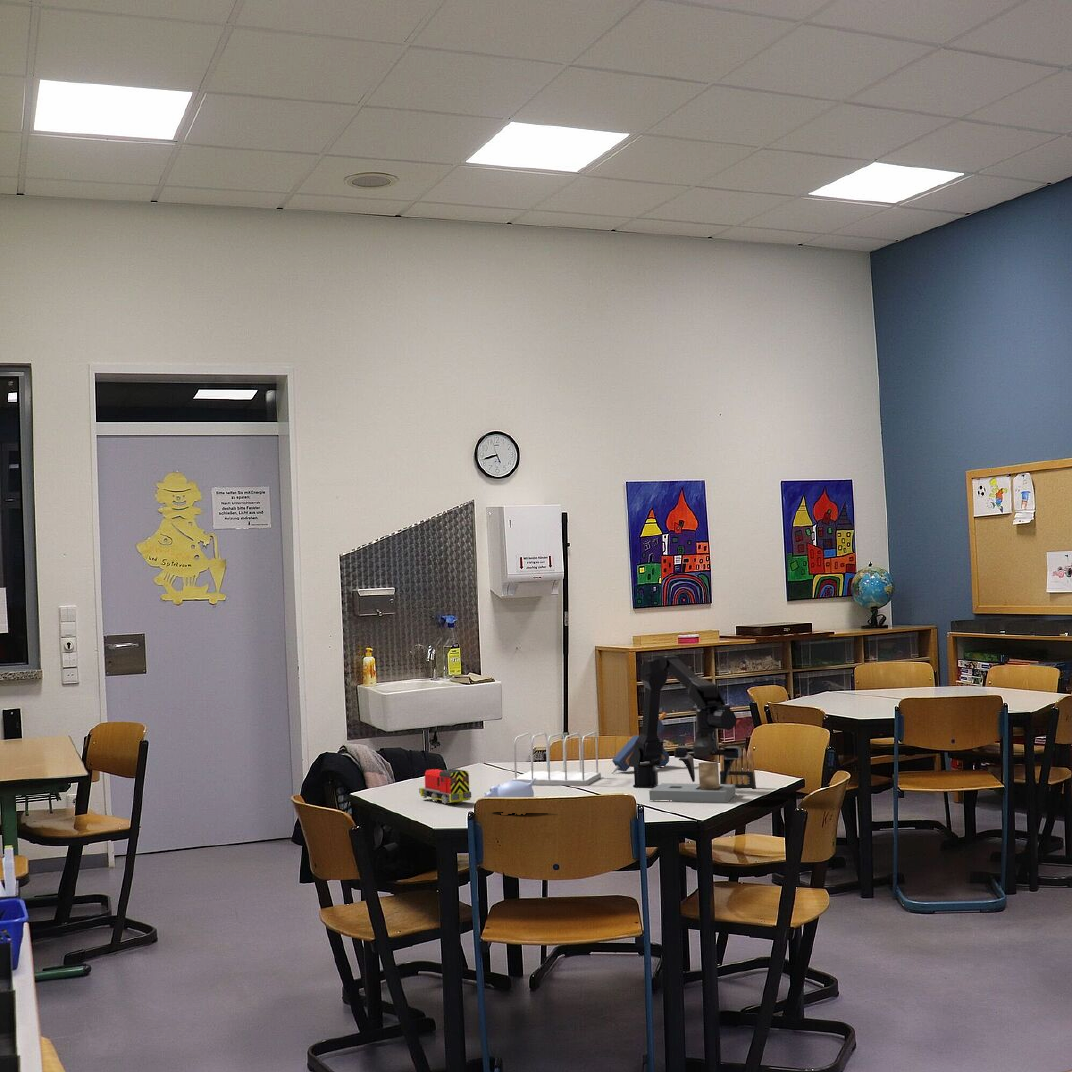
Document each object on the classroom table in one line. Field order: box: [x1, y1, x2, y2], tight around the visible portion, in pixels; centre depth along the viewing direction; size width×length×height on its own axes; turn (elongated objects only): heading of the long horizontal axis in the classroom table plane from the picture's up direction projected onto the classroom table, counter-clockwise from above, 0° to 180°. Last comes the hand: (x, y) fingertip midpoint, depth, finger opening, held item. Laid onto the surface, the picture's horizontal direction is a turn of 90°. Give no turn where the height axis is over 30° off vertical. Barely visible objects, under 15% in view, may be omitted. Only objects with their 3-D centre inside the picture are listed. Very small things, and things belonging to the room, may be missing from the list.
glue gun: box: [611, 711, 670, 775], centre depth 403 cm, size 6×31×15 cm
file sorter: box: [511, 731, 602, 787], centre depth 383 cm, size 25×17×16 cm
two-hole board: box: [649, 782, 737, 804], centre depth 339 cm, size 22×14×3 cm, turn 69°
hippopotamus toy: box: [484, 778, 537, 798], centre depth 328 cm, size 11×15×10 cm
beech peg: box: [698, 761, 720, 790], centre depth 338 cm, size 6×6×10 cm
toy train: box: [418, 767, 472, 805], centre depth 350 cm, size 7×19×10 cm, turn 36°
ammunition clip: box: [719, 747, 757, 789], centre depth 355 cm, size 11×2×12 cm, turn 65°
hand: (709, 782), depth 338 cm, fingers open, 9 cm apart
